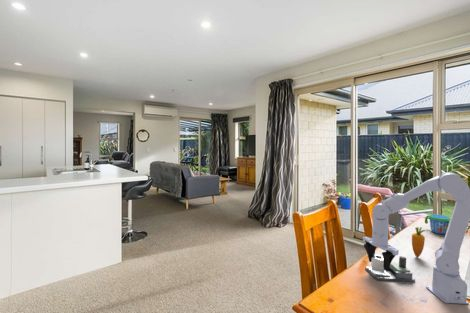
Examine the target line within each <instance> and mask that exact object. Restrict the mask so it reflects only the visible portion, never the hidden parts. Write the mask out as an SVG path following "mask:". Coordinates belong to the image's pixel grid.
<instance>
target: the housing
mask: <svg viewBox="0 0 470 313" xmlns="http://www.w3.org/2000/svg"><path fill="white" fill-rule="evenodd" d="M370 263H371V266H370V267H371V270H375V271H379V272H382V273H384V271H385V269H384V267H383V264H384V261H383V255H380V254H377V253H375V254H373V256H372V262H370Z"/></svg>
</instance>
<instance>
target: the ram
mask: <svg viewBox="0 0 470 313" xmlns="http://www.w3.org/2000/svg"><path fill="white" fill-rule="evenodd" d="M390 268H391V269H392V270H393V271H394V272H411V270H410V269H409V268H407V257H405V256H401V255H400V256H399V260H398V262H391V264H390Z"/></svg>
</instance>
